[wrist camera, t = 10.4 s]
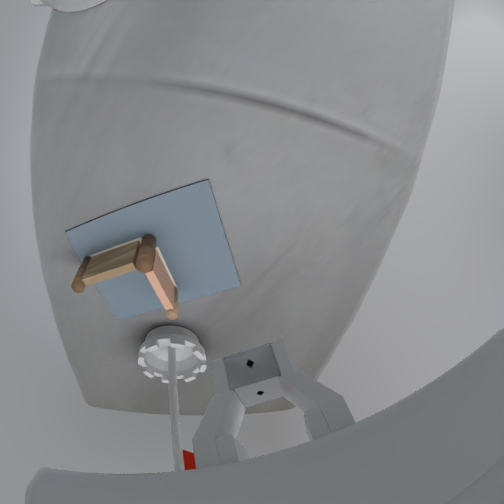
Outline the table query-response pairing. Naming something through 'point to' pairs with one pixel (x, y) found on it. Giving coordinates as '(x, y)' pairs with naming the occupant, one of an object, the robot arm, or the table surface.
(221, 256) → the board
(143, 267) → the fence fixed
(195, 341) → the flag stand
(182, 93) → the table surface
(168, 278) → the fence section
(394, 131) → the table surface
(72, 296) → the table surface
